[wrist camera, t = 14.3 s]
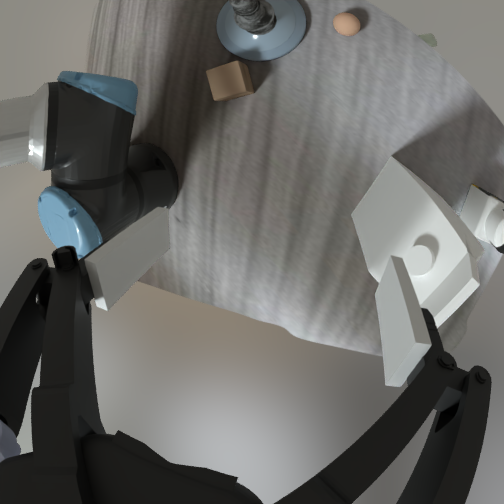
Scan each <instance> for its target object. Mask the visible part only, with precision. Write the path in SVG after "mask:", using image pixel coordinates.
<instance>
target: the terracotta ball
mask: <svg viewBox="0 0 504 504" xmlns="http://www.w3.org/2000/svg"><path fill="white" fill-rule="evenodd" d="M333 25H334V28H335V29H336V31H337V32H339V33H340V34H342V35H345V36H353V35H355V34H357V33H358V32H359V30H360V22H359V20H358V19H357V18H356V17H355V16H354V15H352V14H350V13H340V14H338V15H336V16H335V18H334V20H333Z"/></svg>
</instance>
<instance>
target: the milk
mask: <svg viewBox="0 0 504 504" xmlns="http://www.w3.org/2000/svg"><path fill="white" fill-rule="evenodd" d="M351 216H352V219H353V222H354V225H355V228H356V231H357V234H358V237H359V240H360V244H361V247H362V250H363V254H364V257H365V261H366V264H367V268H368V270H369V272H370V273H371V275H372V276H373V277H374V278H375V279H376V280H377V281H378V282H379V283H380V281H381V278H382V276H383V273H384V271H385V268H386V265H387V263H388V260H389V257H390V255H392V256H397V257H401V258H403V261H404V263H405V266H406V268H407V271H408V274H409V276H410V279H411V282H412V284H413V287H414V290H415V293H416V296H417V298H418V301H419V304H420V307H421V308H426V309H428V310H429V312H430V313H431V314H432V315H433V317H434V320H435V323H436V324H435V325H436V326H437V328H438V327H439V326H440V325H441V324H442V323H443V322H444V321H445V320H446V319H447V318H448V317H450V316H451V315H452V314H453V313H454V312H455V311H456V310H457V309H458V308H459V307H460V306H461V304H462V303H463V302H464V301H465V300H466V299H467V298H468V297H469V296H470V295H471V294H472V293H473V292H474V291H475V290H476V288H477V287H478V286H479V285H480V282H479V275H478V268H477V262H478V261H479V260H480V258H481V257H482V255H483V254H484V252H485V250H484V248H483V247H482V245H481V244H480V242H479V241H478V240H477V238H476V237H475V236H474V235H473V233H472V232H471V231H470V230H469V228H468V227H467V226H466V225H465V223H464V222H463V221H462V220H461V219H460V217H459V216H458V215H457V214H456V213H455V212H454V210H453V209H452V208H451V207H450V206H449V205H448V204H447V203H446V201H445V200H444V199H443V198H442V197H441V196H440V195H439V194H438V193H436V192H435V191H434V190H433V189H432V188H431V187H430V186H428V185H427V184H426V183H425V182H424V181H423V180H421V179H420V178H419V177H418V176H416V175H415V174H414V173H413V172H412V171H410V170H409V169H408V168H406V167H405V166H404V165H403V164H401V163H400V162H399V161H397V160H396V159H395V158H393V157H392V156H391V157H390V158H389V160H388V161H387V163H386V164H385V166H384V167H383V169H382V170H381V172H380V173H379V175H378V176H377V178H376V179H375V181H374V182H373V184H372V185H371V187H370V188H369V190H368V191H367V192H366V194H365V195H364V197H363V198H362V200H361V201H360V203H359V204H358V205H357V207H356V208H355V210H354V211H353V213H352V214H351Z"/></svg>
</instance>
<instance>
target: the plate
mask: <svg viewBox="0 0 504 504" xmlns="http://www.w3.org/2000/svg"><path fill="white" fill-rule="evenodd" d="M265 1H267V2H269V3H270V4H271V5H272V7H273V9H274V13H275V16H276V19H277V22H276V25H275V27H274V29H273V30H272V31H270V32H269V33H267V34H264V35H253V34H250V33H249V32H247V31H246V30H244V29H242V28H240V27H239V26H238V25H237V24H236V23H235V21H234V10H233V7H232V6H231V5H230V3H229V1H228V2H227V3H226V4H225V5H224V6H223V8H222V9H221V11H220V13H219V15H218V18H217V25H216V28H217V34H218V37H219V39H220V41H221V43H222V44H223V45H224V47H225V48H226V49H228V50H229V51H230V52H231V53H233V54H235V55H237V56H239V57H241V58H243V59H246V60H251V61H269V60H274V59H277V58H280V57H282V56H285V55H286V54H288V53H290V52H291V51H292V50H294V49H295V48H296V47H297V46H298V45H299V43H300V42H301V40H302V39H303V37H304V34H305V31H306V17H305V13H304V10H303V8H302V6H301V5H300V4H299V2H298V1H297V0H265Z"/></svg>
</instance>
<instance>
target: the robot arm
mask: <svg viewBox="0 0 504 504" xmlns="http://www.w3.org/2000/svg"><path fill="white" fill-rule="evenodd" d="M57 80H58V82H50V83H44V84H43V86H41V87H40V88H39V89H38V90H37V92H36V93H35V94H33V95H32V96H26V97H19V98H13V99H7V100H2V101H0V168H2V167H6V166H11V165H15V164H20V163H24V162H30V163H32V164H33V165H34V166H35V167H36V168H37V169H38V170H40V171H45V170H51V177H52V178H51V186H49V187H47V188H45V189H44V191H43V192H42V193H41V195H40V197H39V200H38V212H39V216H40V220H41V223H42V225H43V228H44V230H45V232H46V233H47V235H48V237H49V238H50V239H51V241H52V242H53V243H54V245H55V246H56V247H57V248H58V249H56V250H55V251H53V253H52V258H53V261H54V265H55V268H52V267H49V266H48V263H47V260H46V259H43V258H37V259H35V260H33V261H32V262H30V263H29V264H28V265H27V267H26V268H25V269H24V271H23V272H22V274H21V275H20V277H19V278H18V280H17V281H16V283H15V285H14V286H13V288H12V290H11V291H10V293H9V294H8V296H7V298H6V299H5V301H4V303H3V304H2V306H1V308H0V504H263V503H262V501H261V500H260V499H259V498H258V497H257V496H256V495H255V494H254V493H253V492H251V491H250V490H249V489H247V488H246V487H245V486H243V485H240V484H239V483H237V478H238V477H234V476H231V475H227V474H224V473H220V472H217V471H214V470H210V469H207V468H202V467H194V466H186V465H179V464H173V463H170V462H168V461H167V460H165V459H164V458H163V457H161V456H160V455H159V454H157V453H156V452H155V451H153V450H152V449H151V448H149V447H148V446H147V445H146V444H144V443H143V442H141V441H138V440H136V439H134V438H132V437H130V436H129V435H126V434H125V433H123V432H121V431H119V430H118V431H117V433H116V434H115V435H111V434H106V432H105V430H104V427H103V425H102V423H101V419H100V414H99V408H98V402H97V394H96V385H95V375H94V365H93V350H92V326H91V324H92V323H91V304H90V301H91V299H93V298H95V302H96V305H97V307H100V308H102V309H104V310H107V311H108V310H109V309H110V308H111V307H112V306H113V305H114V304H115V303H116V302H117V301H118V300H119V299H120V297H122V296H123V295H124V294H125V293H126V291H127V290H128V289H129V288H130V287H131V286H132V285H133V284H134V283H135V282H136V281H137V280H138V279H139V278H140V277H141V276H142V275H143V274H144V273H145V272H146V271H147V270H148V269H149V268H150V267H151V266H152V265H153V264H154V263H155V262H156V261H157V260H158V259H159V258H160V257H161V256H162V255H163V254H164V253H166V252H167V251H168V250H169V249H170V238H169V209H170V208H171V206H172V205H173V203H174V201H175V199H176V196H177V191H178V178H177V173H176V170H175V167H174V165H173V163H172V161H171V160H170V158H169V157H168V156H167V154H166V153H165V152H164V151H162V150H161V149H160V148H158V147H156V146H154V145H152V144H147V143H140V144H136V145H132V146H130V140H131V134H132V128H133V123H134V117H135V115H136V111H135V109H136V102H137V96H138V88H137V86H136V84H135V83H134V82H132V81H130V80H126V79H122V78H116V77H111V76H105V75H98V74H90V73H80V72H72V71H62V72H61V73H60V75H59V76H58V78H57ZM134 222H135V223H134ZM131 224H132V225H131ZM127 227H128V228H127ZM78 258H81V259H80V260H79V261H78ZM36 297H37V299H38V301H37V303H36ZM375 298H376V305H377V311H378V318H379V325H380V333H381V341H382V350H383V360H384V372H385V385H388V386H396V387H401V385H402V384H403V383H404V382H405V381H406V379H407V383H408V387H407V388H406V389H405V390H404V392H403V393H402V394H401V395H400V396H399V397H398V399H397V400H396V401H395V402H394V403H393V404H392V405H391V407H390V408H389V409H388V410H387V411H386V412H385V413H384V414H383V415H382V416H381V417H380V418H379V419H378V420H377V421H376V422H375V424H373V425H372V426H371V427H370V428H369V429H368V430H367V431H366V432H365V433H364V434H363V435H362V436H361V437H360V438H359V439H358V440H357V441H356V442H355V443H354V444H352V445H351V446H350V447H349V448H348V449H347V450H346V451H345V452H343V453H342V454H341V455H340V456H339V457H338V458H336V459H335V460H334V461H333V462H332V463H330V464H329V465H328V466H327V467H325V468H324V469H323V470H321V471H320V472H319V473H318V474H316V475H315V476H314V477H312V478H311V479H310V480H308V481H307V482H306V483H304V484H303V485H301V486H300V487H298V488H297V489H296V490H294V491H293V492H291V493H290V494H288V495H287V496H285V497H283V498H282V499H280V500H279V501H277V502H276V503H274V504H352V503H353V502H354V501H355V500H356V499H357V498H358V497H359V496H360V495H361V494H362V493H363V492H364V491H365V490H366V489H367V488H368V487H369V486H370V485H371V484H372V483H373V482H374V481H375V480H376V479H377V478H378V477H379V476H380V475H381V474H382V473H383V472H384V471H385V470H386V469H387V468H388V466H389V465H390V464H391V463H392V462H393V461H394V460H395V458H396V457H397V456H398V455H399V454H400V452H401V451H402V450H403V449H404V448H405V446H406V445H407V444H408V443H409V441H410V440H411V439H412V438H413V436H414V435H415V434H416V432H417V431H418V429H419V428H420V427H421V425H422V424H423V423H424V421H425V420H426V418H427V417H428V416H429V414H430V413H431V411H432V410H433V409H435V410H437V412H436V415H435V418H434V421H433V424H432V427H431V429H430V432H429V435H428V438H427V440H426V443H425V446H424V448H423V450H422V452H421V455H420V457H419V460H418V462H417V464H416V466H415V468H414V471H413V473H412V475H411V477H410V479H409V481H408V483H407V485H406V487H405V489H404V490H403V493H402V494H401V496H400V498H399V500H398V502H397V503H396V504H465V502H466V499H467V496H468V494H469V491H470V488H471V485H472V482H473V478H474V475H475V472H476V468H477V465H478V461H479V457H480V453H481V449H482V445H483V440H484V435H485V430H486V424H487V417H488V410H489V402H490V394H491V383H492V382H491V377H490V374H489V373H488V371H487V370H486V369H485V368H483V367H481V366H474V367H473V368H472V369H471V370H470V371H469V372H467V371H465V370H462V369H460V368H458V367H457V364H456V361H455V359H454V358H453V357H452V356H451V355H450V354H449V353H447V352H446V351H444V349H443V345H442V342H441V339H440V336H439V332H437V331H438V329H437V326H436V325H435V324H436V323H435V320H434V317H433V315H432V314H431V313H430V312H429V310H428V309H426V308H421V307H420V304H419V301H418V298H417V296H416V293H415V290H414V287H413V284H412V282H411V279H410V276H409V274H408V271H407V268H406V266H405V263H404V261H403V258H401V257H397V256H392V255H390V257H389V260H388V263H387V265H386V268H385V271H384V273H383V276H382V278H381V281H380V283H379V286H378V288H377V291H376V293H375ZM41 353H42V356H41ZM40 356H41V371H40V386H39V387H34V388H33V390H32V395H31V423H32V444H33V452H30V453H26V454H22V455H20V453H21V448H20V445H19V444H18V443H17V440H16V438H17V436H18V434H19V431H20V428H21V425H22V422H23V418H24V414H25V410H26V405H27V401H28V397H29V393H30V389H31V386H32V382H33V379H34V375H35V372H36V369H37V365H38V362H39V359H40Z"/></svg>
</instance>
